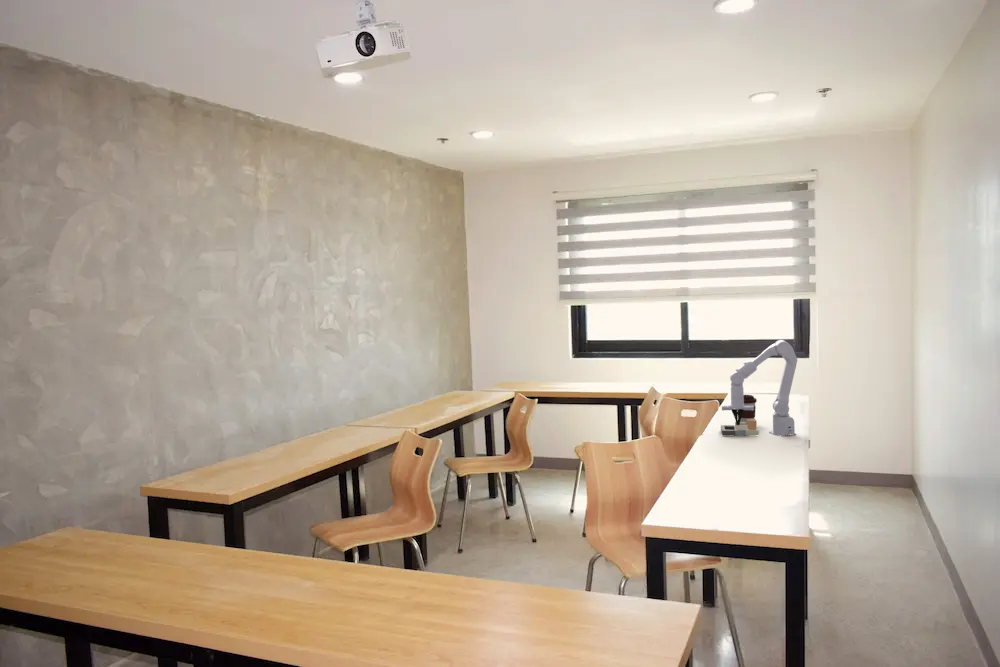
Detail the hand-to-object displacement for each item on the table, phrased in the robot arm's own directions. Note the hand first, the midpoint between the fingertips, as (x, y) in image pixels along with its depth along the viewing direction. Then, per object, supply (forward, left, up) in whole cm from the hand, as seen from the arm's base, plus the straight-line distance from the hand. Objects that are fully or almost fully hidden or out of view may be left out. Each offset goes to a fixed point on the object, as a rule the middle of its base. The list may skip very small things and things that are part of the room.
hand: (737, 425), depth 352 cm
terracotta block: (-4, -5, -1) cm, 6 cm away
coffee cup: (+13, -16, -4) cm, 21 cm away
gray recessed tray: (+1, +2, -4) cm, 4 cm away
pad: (-3, -5, -4) cm, 7 cm away
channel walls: (-1, -1, -1) cm, 2 cm away
